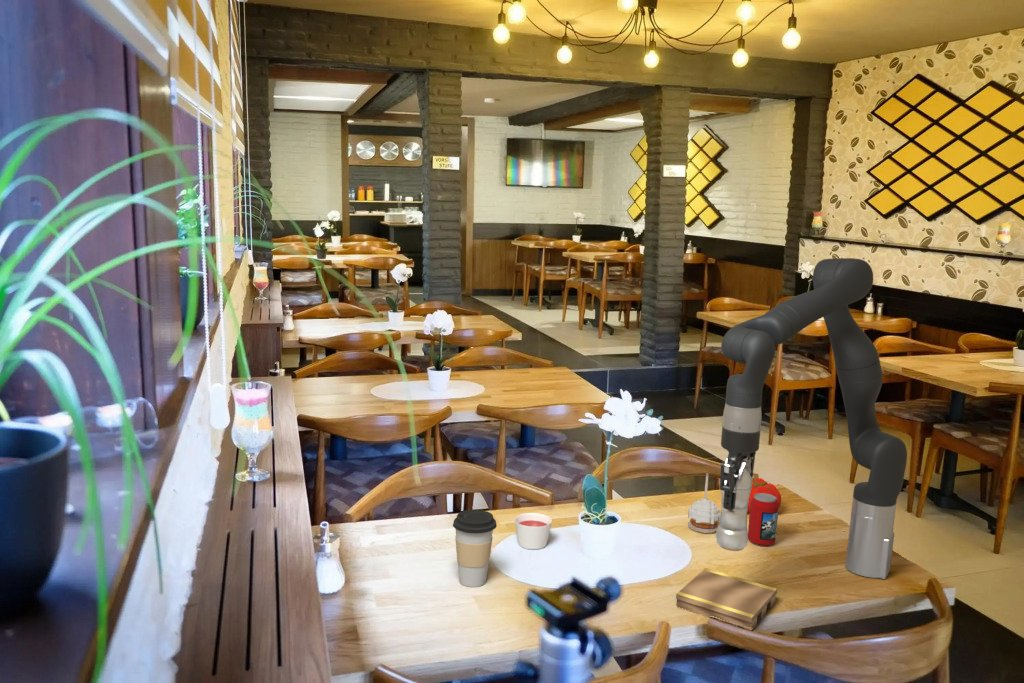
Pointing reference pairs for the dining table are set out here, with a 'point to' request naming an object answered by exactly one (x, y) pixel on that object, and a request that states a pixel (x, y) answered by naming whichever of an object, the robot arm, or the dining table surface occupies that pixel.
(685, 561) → the dining table surface
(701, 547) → the dining table surface
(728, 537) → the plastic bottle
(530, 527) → the candle
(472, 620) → the dining table surface
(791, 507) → the dining table surface
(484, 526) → the coffee cup
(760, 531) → the beverage can
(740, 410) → the robot arm
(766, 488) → the tomato
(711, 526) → the decorative ornament
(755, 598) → the dock
